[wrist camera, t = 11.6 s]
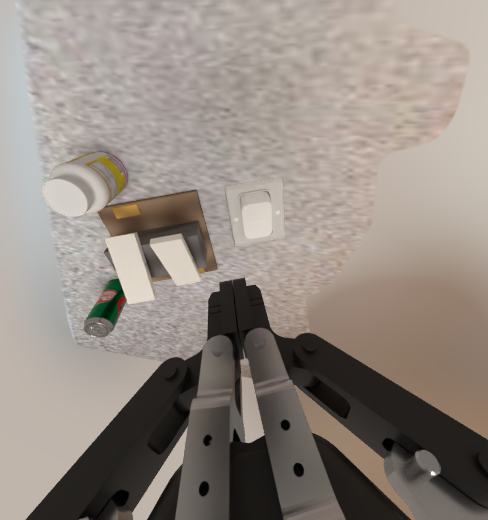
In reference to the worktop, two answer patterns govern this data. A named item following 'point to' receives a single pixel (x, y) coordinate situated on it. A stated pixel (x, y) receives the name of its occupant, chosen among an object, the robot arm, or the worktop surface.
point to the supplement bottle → (84, 184)
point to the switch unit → (162, 228)
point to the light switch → (256, 211)
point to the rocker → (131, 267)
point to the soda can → (106, 310)
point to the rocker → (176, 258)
